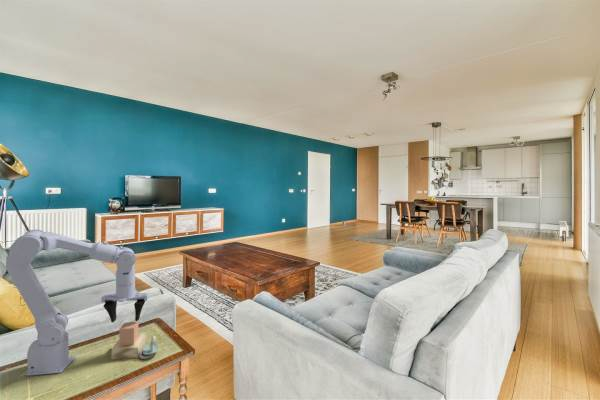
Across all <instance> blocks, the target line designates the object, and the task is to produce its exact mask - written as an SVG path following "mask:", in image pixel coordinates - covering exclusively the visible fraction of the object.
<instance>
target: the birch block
mask: <svg viewBox="0 0 600 400" xmlns="http://www.w3.org/2000/svg"><path fill="white" fill-rule="evenodd" d="M138 336H139V338H138V339H137V341H136V342H135V344H134V345H126V346H119V339H118V340H117V341H116V343H115V344H114V346H113V347H112V348H111V360H120V359H133V358H138V357H139V353H140V352H141V351H142V350H143V349H144V347H145V346H146V334H138Z"/></svg>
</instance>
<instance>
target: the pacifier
mask: <svg viewBox="0 0 600 400" xmlns="http://www.w3.org/2000/svg"><path fill="white" fill-rule="evenodd" d="M159 346H160V345H159V343H158V342H157V337H156V336H155V335H152V336H151V340H150V342H148V343H147V344H145V345H144V347H143V349H142V351H141V352H140V353H139V356H138V357H139V358H140V359H141V360H147V359H149V358H150V357H153V356H155V354H157V353H159V350H158V349H159ZM144 355H145V356H144Z"/></svg>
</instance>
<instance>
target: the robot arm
mask: <svg viewBox="0 0 600 400" xmlns="http://www.w3.org/2000/svg"><path fill="white" fill-rule="evenodd" d="M43 249H44V252H48V251H53V250H56V249H62V250H67V251H71V252H72V251H73V252H77V253H82V254H86V255H88V256H89V257H90V259H92V260H95V261H99V262H104V263H109V264H116V271H115V293H112V294H103V296H101V303H102V304H103V303H104V304H103V309H105V310H106V312H107V314H108V315H109V318H110V323H114V322H116V320H117V306H118V302H119V303H123V302H125V301H126V302H129V301H130V302H131V301H135V303H134V304H133V305H134V310H135V313H134V314H135V316H134V322H139V320H140V318H141V313H142V310H143V308H144V305H145V302H147V301H148V300H149V298H150V294H149V293H144V292H136V269H135V267H136V266H135V265H136V261H137V259H136V255H135V252H134V251H133V249H131V248H129V247H127V246H126V247H123V246H122V245H119V246H116V245H112V244H109V243H108V241H105V240H104V241H102V242H101V241H98V242H96V243H89V242H86V241H83V240H80V239H76V238H73V237H69V236H66V235H62V234H60V233H55V232H52V231H44V230H41V229H30V230H28V231H26V232H25V233H24V234H22V235H21V236H19V237H17V238H16V240H15V241H13V243H12V244H11V245H10V246H9V252H8V256H7V258H6V263H5V269H6V271H7V273H8V275H9V276H10V278H11V281H12V282H13V283H14V285H15V288H17V290H18V293H19V294H20V295H21V298H22V299H23V301H24V302H25V304H26V307H27V308H28V309H29V311H30V312H31V314H32V316H33V318H34V325H35V326H34V327H35V329H36V331H37V339H36V340H34V341H33V342H31V344H30V345H29V346H28V350H27V354H26V356H27V357H26V359H27V360H26V362H27V365H26V366H27V372H26V374H25V376H28V377H29V376H38V375H51V374H60V373H62V372H63V371H64V370H66V368H67V367H68V366H69V365H70V364H71V362H72V361H73V360H74V359H75V358H76V356H75V355H70V352H69V350H70V346H69V333H68V332H67V331H66V328H67V326H68V323H69V318H68V316H67V315H66V314H64V313H62V312H61V311H60V309H59V308H58V307H55V306H54V303H53V302H52V300H51V299H50V296H49V295H48V293H47V291H46V289H45V287H44V286H43V284H42V281H40V280H41V279H40V278H39V277H38V275H37V273H36V271H35V269H34V267H33V266H32V262H33V261H34V259H35V257H36V256H37V255H38V253H40V252H41V251H42V250H43Z"/></svg>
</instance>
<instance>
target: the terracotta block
mask: <svg viewBox="0 0 600 400" xmlns="http://www.w3.org/2000/svg"><path fill="white" fill-rule="evenodd" d="M118 331H119V332H118V333H119V338H118V340H119V346H126V345H134V344H135V342H136V341H137V339H138V338H139V336H138V335H139V321H128V322H123V324H122V325H121V326H120V327H119V330H118Z"/></svg>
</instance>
